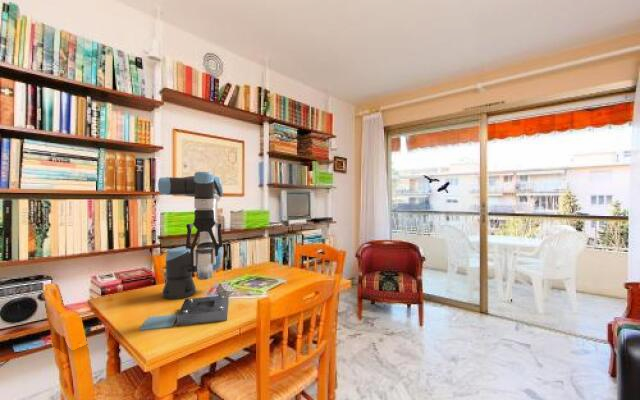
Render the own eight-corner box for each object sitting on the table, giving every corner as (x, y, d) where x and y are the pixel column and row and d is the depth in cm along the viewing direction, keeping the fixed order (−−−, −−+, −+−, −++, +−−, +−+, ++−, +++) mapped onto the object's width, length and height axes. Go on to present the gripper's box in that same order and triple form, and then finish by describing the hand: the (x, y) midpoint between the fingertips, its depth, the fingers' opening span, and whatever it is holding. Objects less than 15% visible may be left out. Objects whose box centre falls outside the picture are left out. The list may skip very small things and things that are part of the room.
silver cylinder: (197, 276, 123) (196, 247, 123) (214, 274, 125) (214, 247, 125) (194, 280, 117) (194, 250, 117) (212, 279, 119) (212, 250, 118)
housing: (185, 308, 128) (185, 297, 127) (228, 303, 132) (228, 293, 132) (177, 325, 110) (177, 313, 110) (227, 320, 115) (226, 308, 115)
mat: (148, 318, 117) (148, 317, 117) (178, 315, 120) (178, 314, 120) (139, 330, 106) (139, 329, 106) (172, 327, 109) (172, 325, 109)
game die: (222, 307, 138) (210, 294, 133) (220, 295, 145) (209, 282, 140) (239, 297, 139) (228, 283, 134) (237, 286, 146) (226, 272, 141)
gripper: (176, 210, 114) (177, 268, 115) (228, 209, 119) (229, 265, 120) (180, 209, 121) (180, 263, 122) (229, 208, 127) (229, 260, 127)
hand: (204, 264), depth 121 cm, fingers closed on silver cylinder, 7 cm apart
